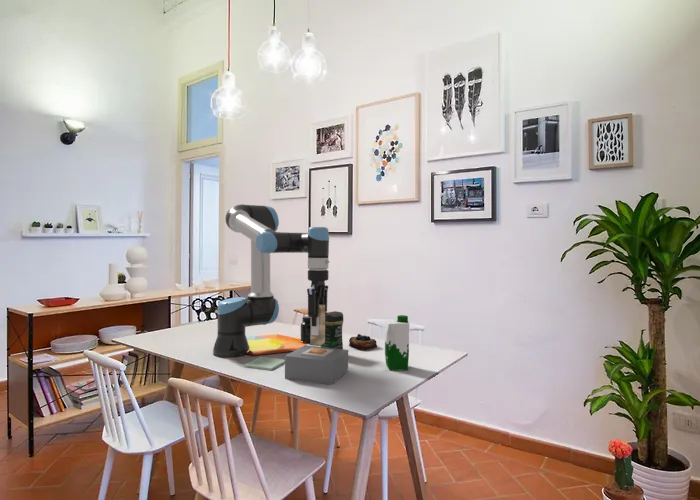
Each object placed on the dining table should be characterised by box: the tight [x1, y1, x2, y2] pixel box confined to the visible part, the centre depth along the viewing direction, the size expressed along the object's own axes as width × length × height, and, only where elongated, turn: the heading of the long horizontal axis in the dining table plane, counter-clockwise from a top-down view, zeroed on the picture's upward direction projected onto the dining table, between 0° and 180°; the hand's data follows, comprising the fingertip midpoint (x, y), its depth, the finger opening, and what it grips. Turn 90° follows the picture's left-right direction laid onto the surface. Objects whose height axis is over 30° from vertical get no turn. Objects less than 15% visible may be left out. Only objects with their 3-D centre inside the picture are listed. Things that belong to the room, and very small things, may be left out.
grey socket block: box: [284, 344, 349, 386], centre depth 148 cm, size 18×16×8 cm
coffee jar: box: [320, 310, 344, 349], centre depth 174 cm, size 10×8×19 cm
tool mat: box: [243, 356, 285, 371], centre depth 160 cm, size 12×12×1 cm
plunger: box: [309, 348, 326, 354], centre depth 148 cm, size 4×4×5 cm
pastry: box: [348, 333, 378, 351], centre depth 188 cm, size 11×12×6 cm
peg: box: [309, 304, 325, 346], centre depth 148 cm, size 4×4×14 cm
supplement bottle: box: [300, 316, 311, 344], centre depth 197 cm, size 7×7×12 cm
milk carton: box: [384, 314, 410, 371], centre depth 157 cm, size 9×9×20 cm
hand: (317, 333), depth 148 cm, fingers closed on peg, 4 cm apart
